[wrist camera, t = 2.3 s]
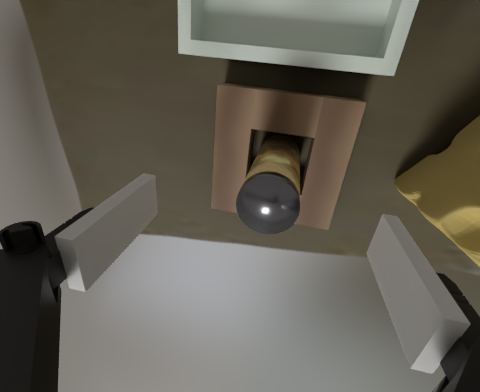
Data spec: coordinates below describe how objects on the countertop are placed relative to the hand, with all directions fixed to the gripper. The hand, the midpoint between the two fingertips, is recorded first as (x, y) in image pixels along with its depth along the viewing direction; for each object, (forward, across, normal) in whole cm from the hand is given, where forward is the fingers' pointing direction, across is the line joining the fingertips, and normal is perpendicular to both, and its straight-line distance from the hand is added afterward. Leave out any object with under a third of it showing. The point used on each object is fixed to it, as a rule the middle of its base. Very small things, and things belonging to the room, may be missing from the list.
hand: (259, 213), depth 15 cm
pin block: (+12, 0, 0) cm, 12 cm away
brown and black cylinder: (+12, 0, 0) cm, 12 cm away
